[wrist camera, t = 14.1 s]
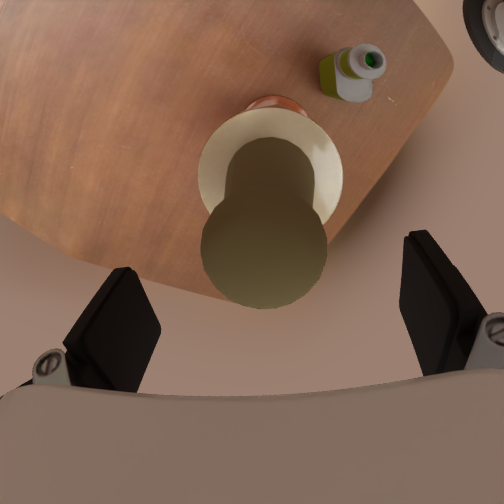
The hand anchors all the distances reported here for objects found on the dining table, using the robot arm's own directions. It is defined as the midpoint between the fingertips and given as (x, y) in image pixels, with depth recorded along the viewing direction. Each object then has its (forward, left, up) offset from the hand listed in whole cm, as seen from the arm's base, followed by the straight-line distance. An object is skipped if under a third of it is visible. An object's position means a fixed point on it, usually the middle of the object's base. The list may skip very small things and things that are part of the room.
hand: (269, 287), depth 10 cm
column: (0, 0, -36) cm, 36 cm away
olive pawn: (0, 0, -12) cm, 12 cm away
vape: (-4, -10, -36) cm, 38 cm away
